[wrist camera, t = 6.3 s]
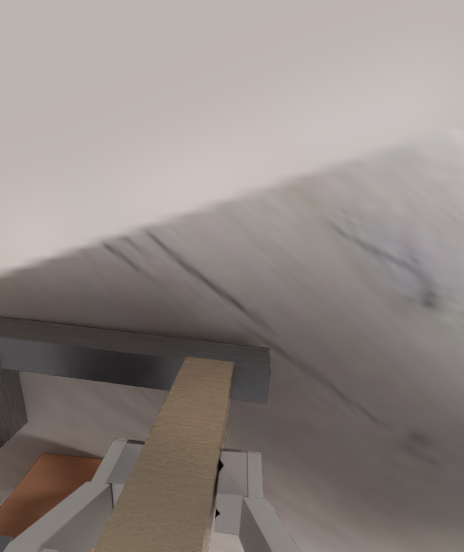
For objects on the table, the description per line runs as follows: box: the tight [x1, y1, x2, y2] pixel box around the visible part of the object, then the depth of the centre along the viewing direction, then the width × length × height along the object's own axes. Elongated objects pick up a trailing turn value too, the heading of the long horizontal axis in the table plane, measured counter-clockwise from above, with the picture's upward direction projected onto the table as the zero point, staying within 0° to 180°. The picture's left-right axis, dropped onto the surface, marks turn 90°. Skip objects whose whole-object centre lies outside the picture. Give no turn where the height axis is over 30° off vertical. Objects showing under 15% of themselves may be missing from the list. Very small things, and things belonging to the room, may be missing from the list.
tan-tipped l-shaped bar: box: [0, 317, 270, 552], centre depth 12 cm, size 18×8×10 cm, turn 86°
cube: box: [0, 453, 103, 552], centre depth 18 cm, size 5×5×5 cm
